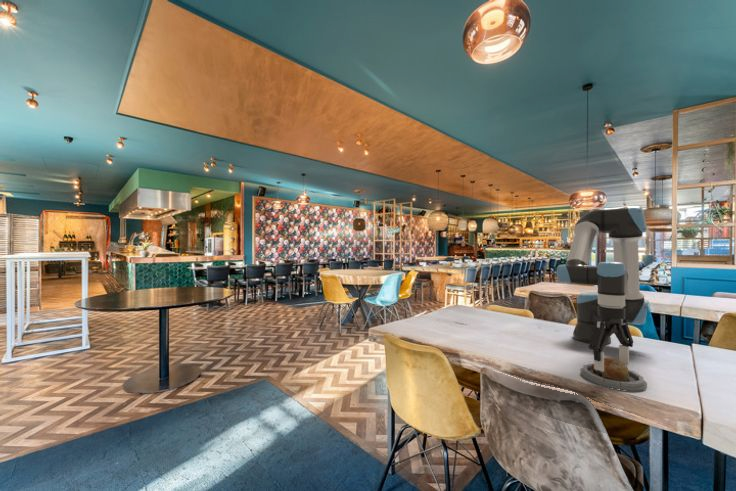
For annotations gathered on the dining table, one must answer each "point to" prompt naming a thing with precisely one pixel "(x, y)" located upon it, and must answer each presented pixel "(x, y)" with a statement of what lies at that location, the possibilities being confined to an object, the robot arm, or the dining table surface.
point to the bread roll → (613, 370)
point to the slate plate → (632, 385)
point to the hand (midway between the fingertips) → (611, 367)
